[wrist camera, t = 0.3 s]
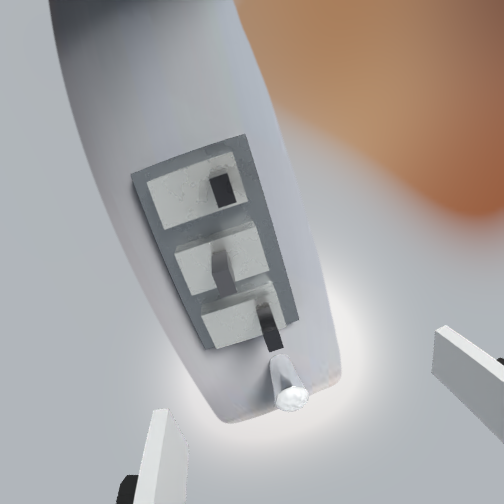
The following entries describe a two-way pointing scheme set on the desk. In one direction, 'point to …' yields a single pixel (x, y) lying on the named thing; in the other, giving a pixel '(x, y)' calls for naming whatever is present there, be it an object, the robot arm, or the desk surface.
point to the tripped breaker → (223, 274)
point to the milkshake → (287, 384)
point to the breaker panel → (215, 225)
